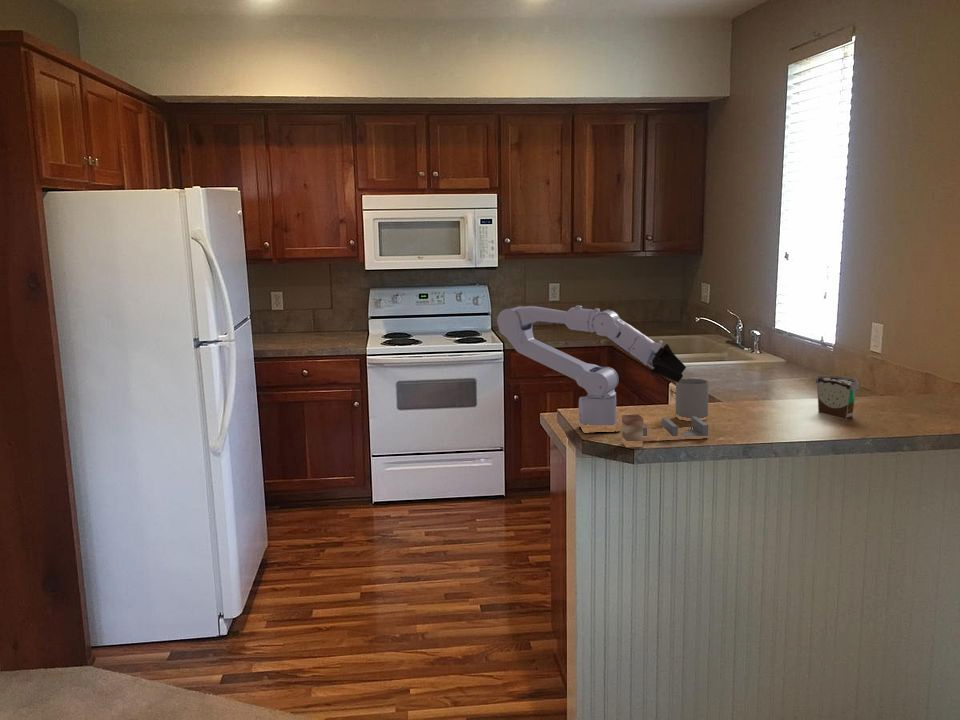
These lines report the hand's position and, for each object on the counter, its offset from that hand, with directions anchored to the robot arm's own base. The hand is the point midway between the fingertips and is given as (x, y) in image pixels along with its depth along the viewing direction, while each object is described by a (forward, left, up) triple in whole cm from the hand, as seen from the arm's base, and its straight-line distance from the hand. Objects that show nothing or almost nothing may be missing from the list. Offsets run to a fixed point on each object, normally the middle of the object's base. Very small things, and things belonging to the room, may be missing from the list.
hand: (682, 375), depth 188 cm
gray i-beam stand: (-3, +1, -15) cm, 16 cm away
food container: (+47, +14, -16) cm, 52 cm away
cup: (+8, +18, -16) cm, 25 cm away
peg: (-14, -6, -15) cm, 21 cm away
